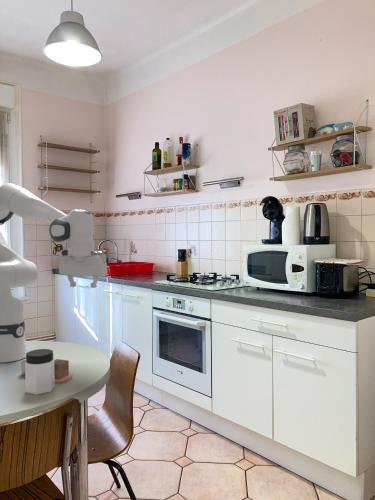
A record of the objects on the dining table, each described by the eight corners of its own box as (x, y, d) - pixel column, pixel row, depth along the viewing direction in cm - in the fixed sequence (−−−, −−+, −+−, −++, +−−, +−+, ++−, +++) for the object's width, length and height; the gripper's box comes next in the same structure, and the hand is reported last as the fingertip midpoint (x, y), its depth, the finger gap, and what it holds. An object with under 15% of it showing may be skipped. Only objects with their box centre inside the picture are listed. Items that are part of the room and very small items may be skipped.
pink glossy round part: (38, 381, 138) (38, 378, 138) (56, 372, 146) (56, 370, 146) (60, 384, 135) (60, 382, 135) (77, 375, 143) (77, 373, 143)
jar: (49, 394, 126) (48, 356, 126) (22, 395, 126) (21, 356, 126) (57, 384, 135) (56, 348, 135) (32, 384, 135) (31, 348, 134)
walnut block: (47, 377, 139) (47, 363, 139) (57, 373, 144) (56, 359, 144) (59, 379, 137) (59, 364, 137) (68, 374, 142) (68, 360, 142)
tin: (18, 375, 144) (18, 362, 144) (28, 371, 149) (28, 358, 148) (29, 377, 142) (28, 364, 142) (38, 372, 147) (38, 360, 147)
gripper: (110, 251, 157) (110, 287, 157) (66, 250, 164) (67, 285, 165) (100, 251, 151) (101, 289, 152) (56, 251, 159) (56, 287, 159)
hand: (83, 287), depth 158 cm, fingers open, 8 cm apart
